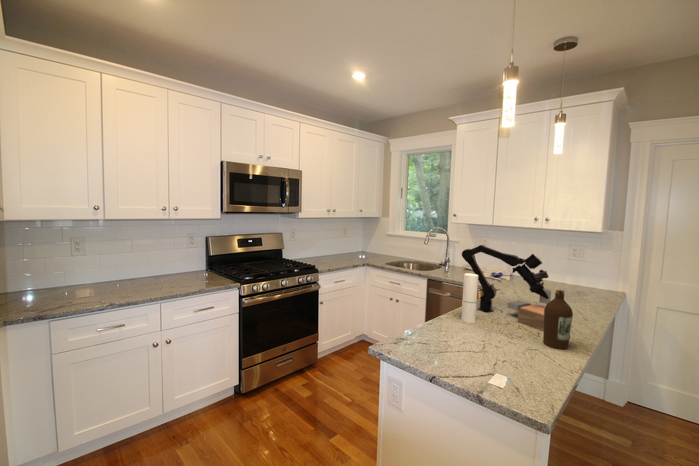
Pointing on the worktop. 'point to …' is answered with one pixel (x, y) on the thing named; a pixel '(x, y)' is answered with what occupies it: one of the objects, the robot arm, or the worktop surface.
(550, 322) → the olive oil
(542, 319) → the frame
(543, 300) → the stone
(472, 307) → the cylindrical container
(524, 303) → the trapdoor
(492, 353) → the worktop surface
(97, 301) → the worktop surface
